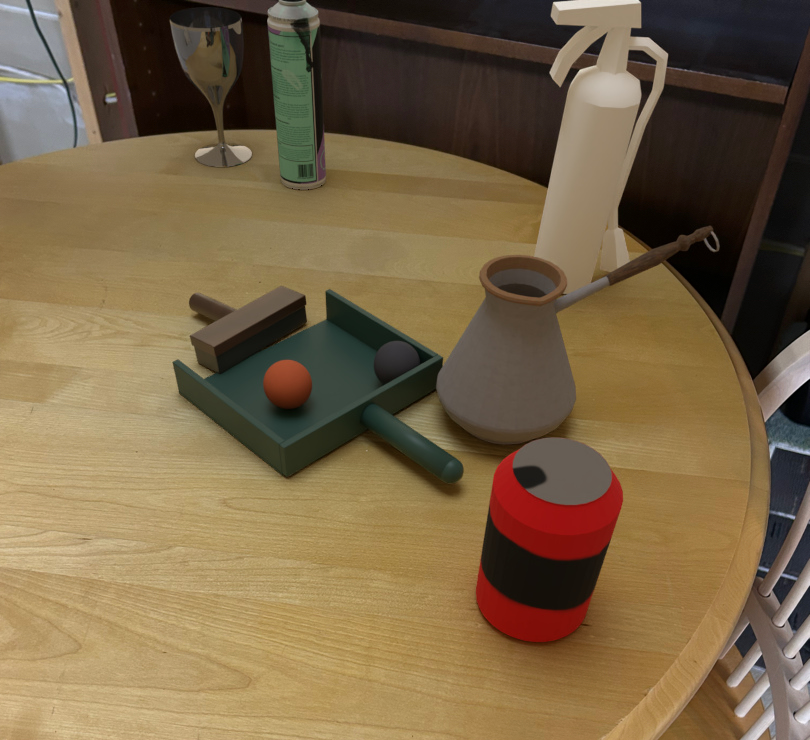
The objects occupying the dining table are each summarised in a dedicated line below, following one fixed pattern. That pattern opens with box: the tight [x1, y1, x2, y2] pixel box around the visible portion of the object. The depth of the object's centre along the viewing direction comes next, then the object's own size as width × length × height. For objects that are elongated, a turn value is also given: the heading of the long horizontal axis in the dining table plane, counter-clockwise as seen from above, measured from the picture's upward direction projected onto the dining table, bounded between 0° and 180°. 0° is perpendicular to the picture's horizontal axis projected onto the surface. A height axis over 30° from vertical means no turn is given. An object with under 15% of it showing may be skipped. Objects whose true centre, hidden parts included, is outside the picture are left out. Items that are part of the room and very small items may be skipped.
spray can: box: [267, 0, 327, 191], centre depth 90 cm, size 6×6×20 cm
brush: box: [188, 285, 308, 374], centre depth 74 cm, size 9×11×3 cm
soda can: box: [475, 437, 624, 643], centre depth 50 cm, size 8×8×12 cm
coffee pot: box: [435, 225, 720, 446], centre depth 63 cm, size 21×12×15 cm, turn 107°
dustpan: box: [172, 288, 465, 485], centre depth 66 cm, size 25×17×3 cm
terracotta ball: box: [263, 360, 312, 409], centre depth 66 cm, size 4×4×4 cm
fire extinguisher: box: [533, 0, 669, 295], centre depth 74 cm, size 7×12×25 cm, turn 95°
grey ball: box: [374, 341, 420, 385], centre depth 69 cm, size 4×4×4 cm
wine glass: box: [169, 6, 253, 168], centre depth 96 cm, size 8×8×15 cm
